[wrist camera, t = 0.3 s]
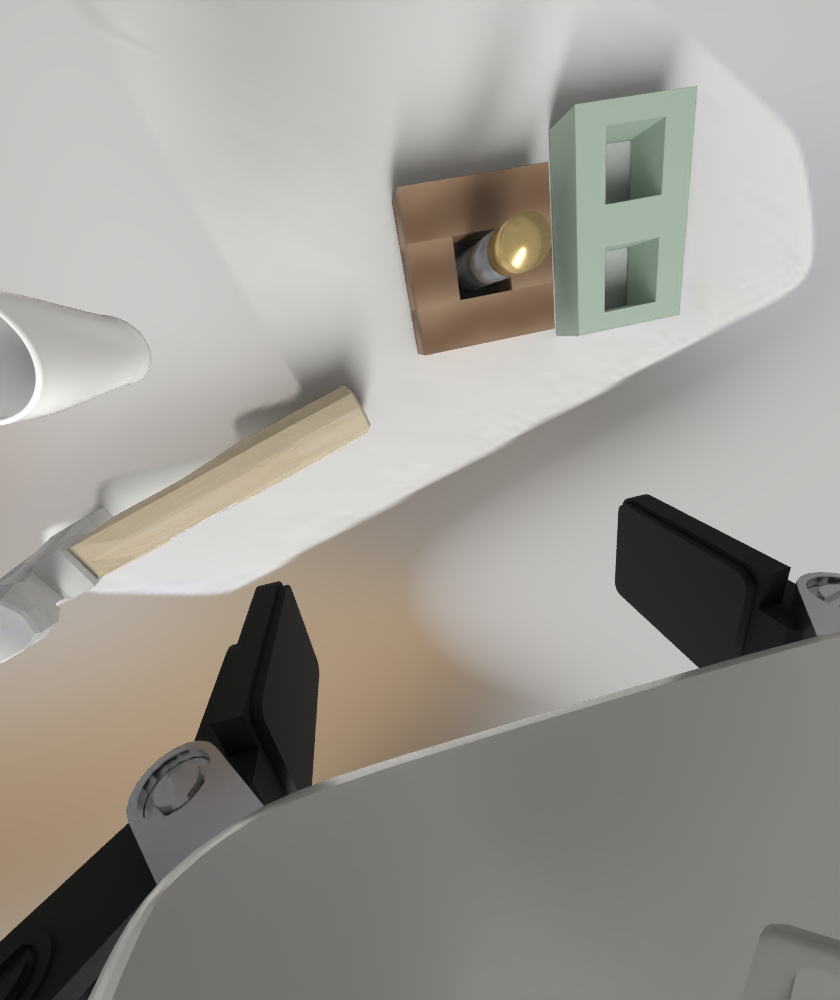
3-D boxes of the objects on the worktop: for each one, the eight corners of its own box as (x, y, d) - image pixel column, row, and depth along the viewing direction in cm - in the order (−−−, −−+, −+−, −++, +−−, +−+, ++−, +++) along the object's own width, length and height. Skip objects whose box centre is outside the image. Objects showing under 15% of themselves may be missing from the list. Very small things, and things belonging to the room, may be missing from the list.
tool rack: (548, 130, 33) (575, 104, 29) (658, 113, 34) (697, 85, 30) (556, 336, 39) (578, 335, 36) (648, 316, 40) (679, 314, 36)
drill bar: (450, 253, 35) (500, 214, 24) (485, 247, 35) (550, 205, 24) (456, 293, 36) (505, 274, 25) (489, 287, 36) (552, 265, 25)
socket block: (391, 201, 33) (397, 186, 29) (528, 178, 34) (548, 161, 31) (418, 353, 37) (425, 355, 34) (537, 329, 39) (554, 328, 35)
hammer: (367, 383, 28) (-85, 629, 22) (395, 440, 30) (-14, 680, 24) (329, 384, 42) (44, 535, 36) (350, 423, 44) (83, 572, 38)
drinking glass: (174, 389, 35) (65, 421, 21) (89, 396, 34) (-81, 435, 20) (148, 303, 32) (5, 277, 19) (56, 308, 31) (-167, 285, 18)
